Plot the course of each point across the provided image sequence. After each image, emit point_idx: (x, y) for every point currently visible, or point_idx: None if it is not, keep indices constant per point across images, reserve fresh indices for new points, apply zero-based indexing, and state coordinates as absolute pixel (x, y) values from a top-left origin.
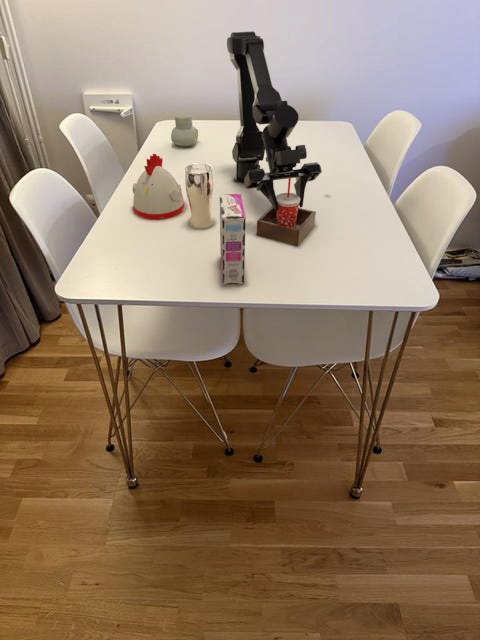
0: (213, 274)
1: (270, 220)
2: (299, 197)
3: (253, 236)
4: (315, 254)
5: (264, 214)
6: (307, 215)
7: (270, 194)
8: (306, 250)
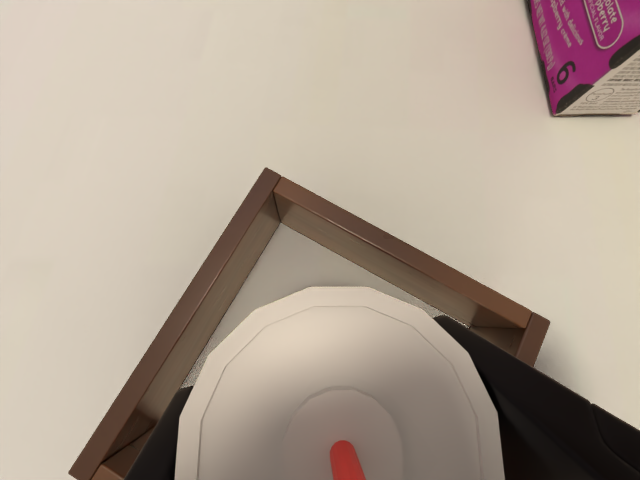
0: None
1: None
2: (183, 474)
3: None
4: (202, 132)
5: None
6: None
7: (634, 430)
8: (238, 167)
